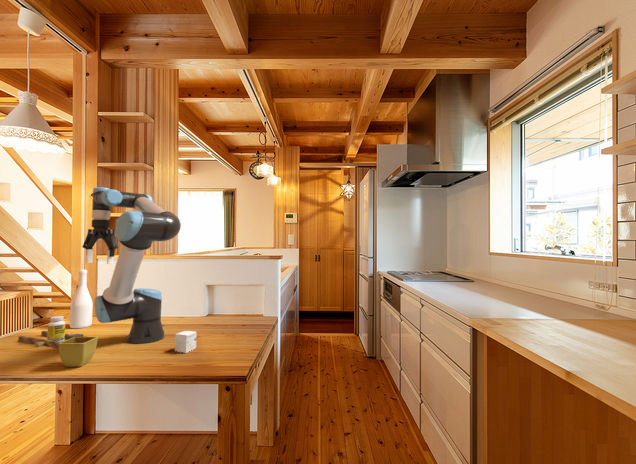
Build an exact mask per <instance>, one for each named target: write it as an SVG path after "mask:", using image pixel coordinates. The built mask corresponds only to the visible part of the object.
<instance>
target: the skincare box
mask: <svg viewBox="0 0 636 464" xmlns="http://www.w3.org/2000/svg"><path fill="white" fill-rule="evenodd" d="M174 340H175V341H174V342H175V343H174V352H176V351H177V352H176V353H182V352H183V354H187V353H190V352H192V351H194V350H193V349H195V348H196V349H197V331H193V330H192V331H191V330H184V331H180V332H178V333H175V339H174ZM196 349H195V350H196ZM191 350H192V351H191ZM189 351H190V352H189Z"/></svg>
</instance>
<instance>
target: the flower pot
mask: <svg viewBox="0 0 636 464" xmlns="http://www.w3.org/2000/svg"><path fill="white" fill-rule="evenodd" d="M98 341H99V336H87V337H73V338H71V339H68V340H67V339H65V340H64V341H62V342H61V343H59V347H58V351H59V358H60V360H61V362H62V363H63V365H64V366H65V367H67V368H68V367H79V368H80V367H82V366H84V365H86V364H88V363H90V361H91V360H92V359H93V356H94V354H95V352H96V350H97V349H96V348H97V345H98Z"/></svg>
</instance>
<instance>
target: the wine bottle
mask: <svg viewBox="0 0 636 464" xmlns="http://www.w3.org/2000/svg"><path fill="white" fill-rule="evenodd" d="M87 274H88V270H87V269H79V270H78V286H77V288H76V291H75V293H74V296H73V298H72V301H71V303H70V309H69V327H70V328H71V329H85V328H88V327H91V326H92V324H93V309H94V308H93V305H94V303H93V299H92V297H91V294H90V291H89V289H88V286H87V276H88V275H87Z"/></svg>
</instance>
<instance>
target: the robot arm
mask: <svg viewBox="0 0 636 464" xmlns="http://www.w3.org/2000/svg"><path fill="white" fill-rule="evenodd" d="M91 196H92V203H91V204H92V206H91V207H92V210H91V219H92V220H91V228H92V229H90V228H89V229H87V234H86V237H85V239H84V242H83V244H82V248H83V249H85V263H86V264H88V263H91V264H93V263H94V262H93V257H94V248H93V247H94V246H95V244H96V243H97V242H98V241H99V239H102V240H103V241H104V243H105V245H106V246H107V254H106V256H107V259H106V264H107V265H109V264H110V265H112V264H114V259H115V250H117V249H119V245H118V242H119V244H120V245H121V247H120V250H119V253H118V256H117V260H116V263H115V266H114V270H113V273H112V276H111V278H110V279H111V280H110V283H109V286H108V287H106V288H105V289H104V290H103V292H102V295H97V296H95V298H94V303H93V305H94V312H95V313H94V314H95V316H96V319H97V322H99V323H100V324H106V323H107V324H108V323H115V322H120V321H126V320H131V319H132V324H131V327H130V331H129V333H128V336H127V342H129V343H131V344H147V343H153V342H154V343H155V342H158V341H160V340H162V339H164V338H165V331H164V328H163V324H162V301H163V299H162V297H163V296H162V292H161V290H159V289H153V288H134V287H135V283H136V280H137V277H138V273H139V270H140V267H141V264H142V261H143V258H144V256H145V252H146V251H147V250H149V249H151V247H152V244H153V242H167V241H169V240H170V241H171V240H172V239H174V238H175V237H176V236H177V235H178V234H179V232H180V230H181V227H182V225H181V224H182V223H181V220H180V219H179V218H178V216H177V215H176V214H174V213H173V212H171V211H167V210H164V208H162V207H160V206H159V205H157V204H156V203H155V202H154V201H153V197H152V196H151V195H150V194H145V193H136V192H127V191H119V190H117V189H110V188H108V187H103V186H101V187H100V186H99V187H98V186H97V187H96V186H95V187H93V188H92V195H91ZM112 207H113V208H114V207H118V208H125V209H126V208H127V209H135V210H127V211H124V212H122V213H121V214H120V216H119V217H118V219H117V221H116V225H115V227H116V228H115V230H114V229H109V228H111V220H110V219H111V211H112ZM117 240H118V241H117ZM133 288H134V289H133Z"/></svg>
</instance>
